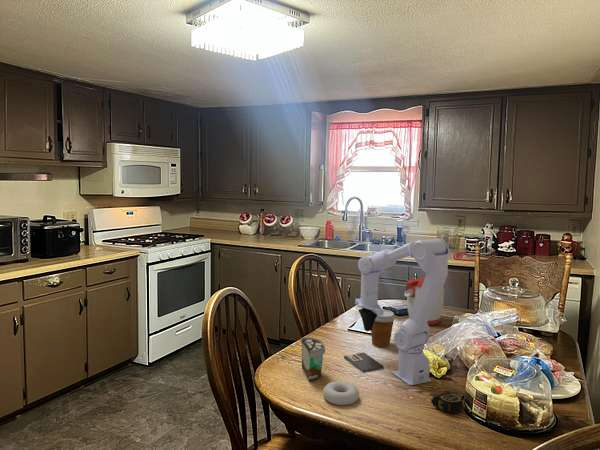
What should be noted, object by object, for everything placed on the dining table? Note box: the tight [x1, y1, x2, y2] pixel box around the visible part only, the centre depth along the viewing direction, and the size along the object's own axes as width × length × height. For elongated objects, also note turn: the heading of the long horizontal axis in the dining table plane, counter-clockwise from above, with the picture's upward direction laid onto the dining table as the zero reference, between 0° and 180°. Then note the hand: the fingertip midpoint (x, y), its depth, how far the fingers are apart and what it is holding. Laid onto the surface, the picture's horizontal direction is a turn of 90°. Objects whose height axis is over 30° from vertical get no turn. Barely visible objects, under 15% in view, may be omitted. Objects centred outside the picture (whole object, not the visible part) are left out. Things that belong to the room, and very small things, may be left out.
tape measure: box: [430, 391, 464, 414], centre depth 120 cm, size 7×7×4 cm
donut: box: [322, 380, 360, 406], centre depth 126 cm, size 10×4×10 cm
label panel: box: [343, 352, 385, 373], centre depth 149 cm, size 12×8×1 cm, turn 24°
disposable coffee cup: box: [370, 309, 396, 348], centre depth 166 cm, size 10×10×12 cm
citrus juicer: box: [403, 275, 446, 326], centre depth 193 cm, size 16×17×20 cm
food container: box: [300, 336, 326, 382], centre depth 140 cm, size 12×6×10 cm, turn 13°
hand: (368, 330), depth 154 cm, fingers closed
